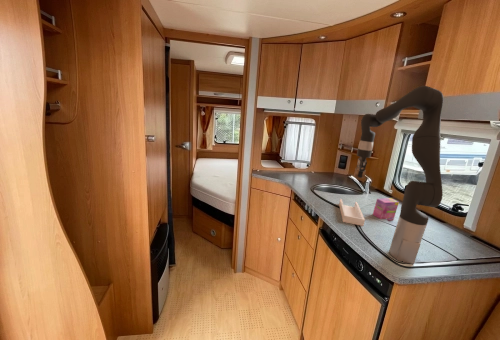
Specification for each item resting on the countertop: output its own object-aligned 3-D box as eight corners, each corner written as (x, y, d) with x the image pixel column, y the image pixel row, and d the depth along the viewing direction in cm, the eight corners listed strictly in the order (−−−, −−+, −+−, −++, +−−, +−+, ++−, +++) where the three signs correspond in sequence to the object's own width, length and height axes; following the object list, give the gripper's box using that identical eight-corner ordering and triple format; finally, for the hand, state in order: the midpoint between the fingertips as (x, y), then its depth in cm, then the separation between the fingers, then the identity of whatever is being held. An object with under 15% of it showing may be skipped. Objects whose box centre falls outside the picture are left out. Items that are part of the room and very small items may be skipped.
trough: (362, 228, 115) (364, 219, 113) (342, 224, 117) (344, 215, 116) (355, 209, 138) (357, 202, 137) (338, 206, 141) (340, 199, 139)
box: (379, 221, 125) (384, 202, 122) (371, 216, 130) (376, 198, 127) (393, 220, 128) (399, 201, 124) (385, 216, 133) (390, 197, 130)
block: (363, 178, 132) (365, 170, 131) (355, 177, 133) (356, 169, 132) (362, 176, 136) (364, 168, 135) (353, 175, 138) (355, 167, 137)
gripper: (374, 151, 123) (367, 180, 127) (369, 148, 136) (363, 174, 140) (360, 149, 125) (353, 178, 129) (356, 146, 138) (350, 172, 142)
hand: (358, 176), depth 135 cm, fingers closed on block, 5 cm apart
